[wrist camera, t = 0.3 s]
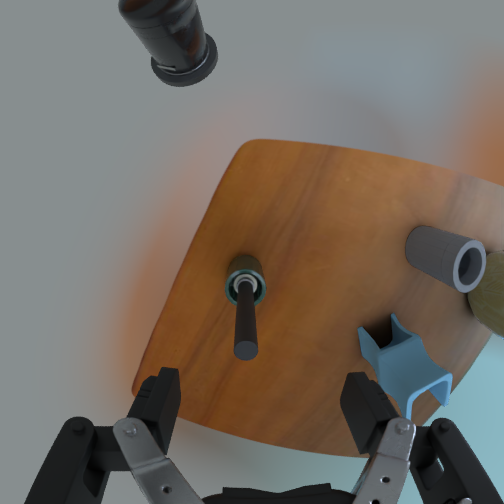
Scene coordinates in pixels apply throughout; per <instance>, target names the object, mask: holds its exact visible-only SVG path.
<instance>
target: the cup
mask: <svg viewBox="0 0 504 504" xmlns="http://www.w3.org/2000/svg"><path fill="white" fill-rule="evenodd" d="M405 253H406V257H407V260H408V262H409V263H410V264H411V265H412V266H414V267H415V268H417V269H419V270H421V271H423V272H425V273H427V274H429V275H431V276H432V277H434V278H436V279H438V280H440V281H442V282H444V283H445V284H447V285H449V286H451V287H453V288H454V289H456V290H458V291H460V292H463V293H465V292H469V291H471V290H473V289H474V288H475V287H476V286H477V285H478V283H479V282H480V280H481V278H482V277H483V274H484V271H485V266H486V253H485V249H484V247H483V245H482V244H481V242H479V241H477V240H475V239H472V238H468V237H465V236H461V235H458V234H454V233H451V232H447V231H443V230H440V229H436V228H432V227H428V226H419V227H417V228H415V229H414V230H413V231H412V232H411V233H410V235H409V237H408V239H407V242H406V246H405Z"/></svg>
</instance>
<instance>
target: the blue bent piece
mask: <svg viewBox="0 0 504 504" xmlns="http://www.w3.org/2000/svg"><path fill="white" fill-rule="evenodd" d="M391 323H392V334H393V339H392V341H391V342H390V344H389V345H387V346H385V347H383V348H381V349H380V348H379V347H378V345H377V344H376V343H375V341H374V340H373V339H372V337H371V336H370V335H369V334H368V333H367V332H366V331H365V329H364V328H363V327H362V326H361V327H359V328H357V329H358V334H359V341H360V347H361V353H362V356H363V357H364V358H365V359H366V360H367V361H368V362H369V363H370V364H371V365H372V367H373V368H374V370H375V373H376V376H377V379H378V383H379V385H380V386H381V388H382V389H383V391H384V392H386V393H388V394H389V395H391V396H392V397H393V398H394V399H395V400H396V402H397V403H398V405H399V407H400V410H401V413H402V417H403V418H407V419H409V420H410V421H411V409H412V402H413V401H414V400H415V399H416V398H417V396H419V395H420V394H421V393H422V392H424V391H425V390H427V389H429V391H430V392H431V393H432V394H433V395H434V396H435V398H436V399H437V400H438V401H439V402H440V403H441V404H442V405H443V406H444V407H445V406H446V405H448V401H449V396H450V391H451V385H452V374H451V373H450V372H448V371H446V370H444V369H443V368H441V367H439V366H438V365H437V364H436V363H434V362H433V361H432V360H431V359H430V357H429V356H428V354H427V352H426V350H425V348H424V346H423V343H422V340H421V337H420V336H419V335H418V334H415V333H413V332H410V331H408V330H407V329H405V328H404V327H403V326H402V325H401V324H400V323H399V321H398V320H397V318H396V316H395V314H394V313H393V314H391Z"/></svg>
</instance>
